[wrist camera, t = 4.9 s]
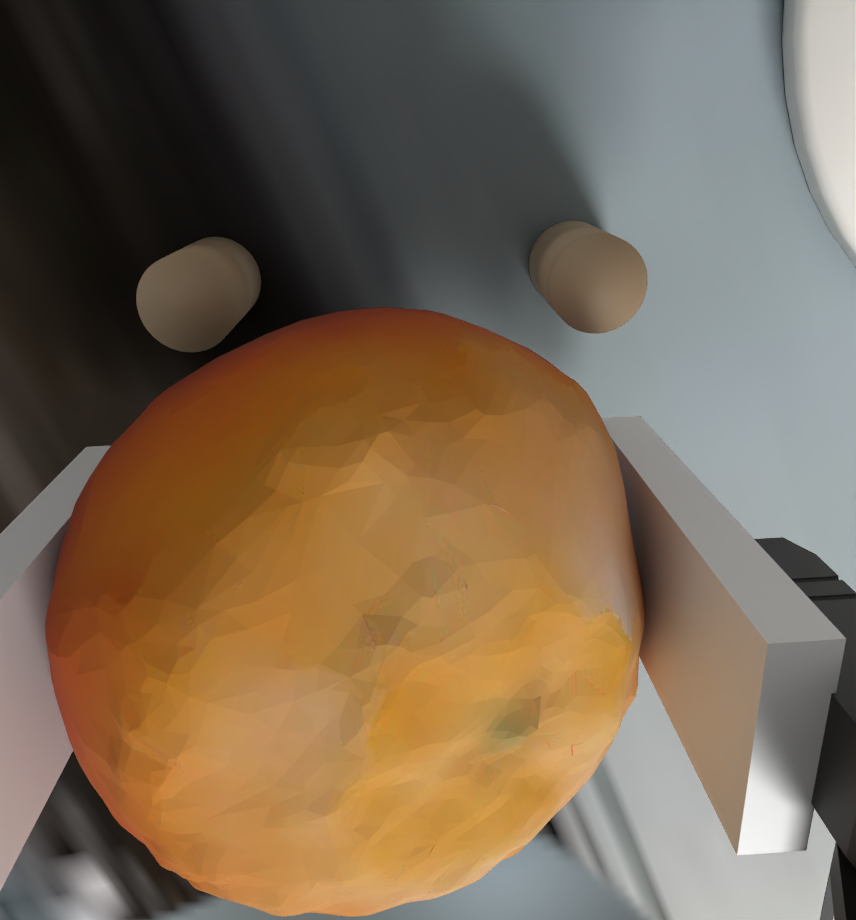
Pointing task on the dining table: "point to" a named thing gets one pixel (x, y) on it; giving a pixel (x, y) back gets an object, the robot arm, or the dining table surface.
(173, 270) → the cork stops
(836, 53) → the saucer
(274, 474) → the fruit
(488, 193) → the dining table surface
